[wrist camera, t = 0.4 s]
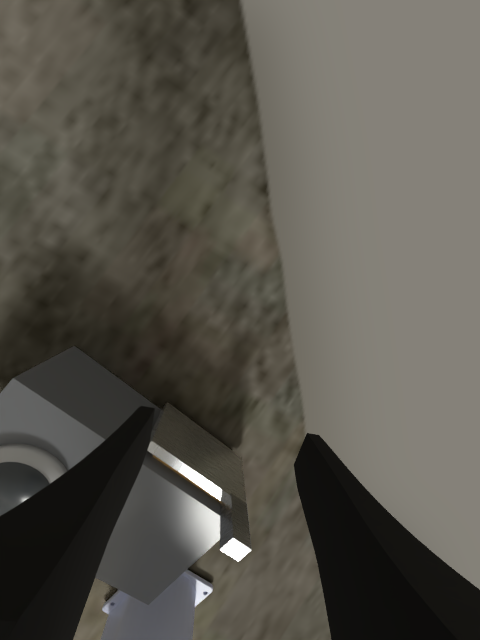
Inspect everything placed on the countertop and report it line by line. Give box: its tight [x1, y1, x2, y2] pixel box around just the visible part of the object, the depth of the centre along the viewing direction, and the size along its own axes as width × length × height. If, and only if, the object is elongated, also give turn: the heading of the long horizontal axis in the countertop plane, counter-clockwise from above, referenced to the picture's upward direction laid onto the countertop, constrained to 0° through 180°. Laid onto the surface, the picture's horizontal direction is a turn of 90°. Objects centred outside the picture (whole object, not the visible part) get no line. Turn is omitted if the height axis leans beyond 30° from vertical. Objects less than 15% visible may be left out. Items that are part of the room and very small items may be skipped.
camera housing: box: [0, 346, 222, 605], centre depth 19 cm, size 10×18×7 cm, turn 47°
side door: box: [147, 402, 251, 562], centre depth 18 cm, size 1×9×8 cm, turn 47°
